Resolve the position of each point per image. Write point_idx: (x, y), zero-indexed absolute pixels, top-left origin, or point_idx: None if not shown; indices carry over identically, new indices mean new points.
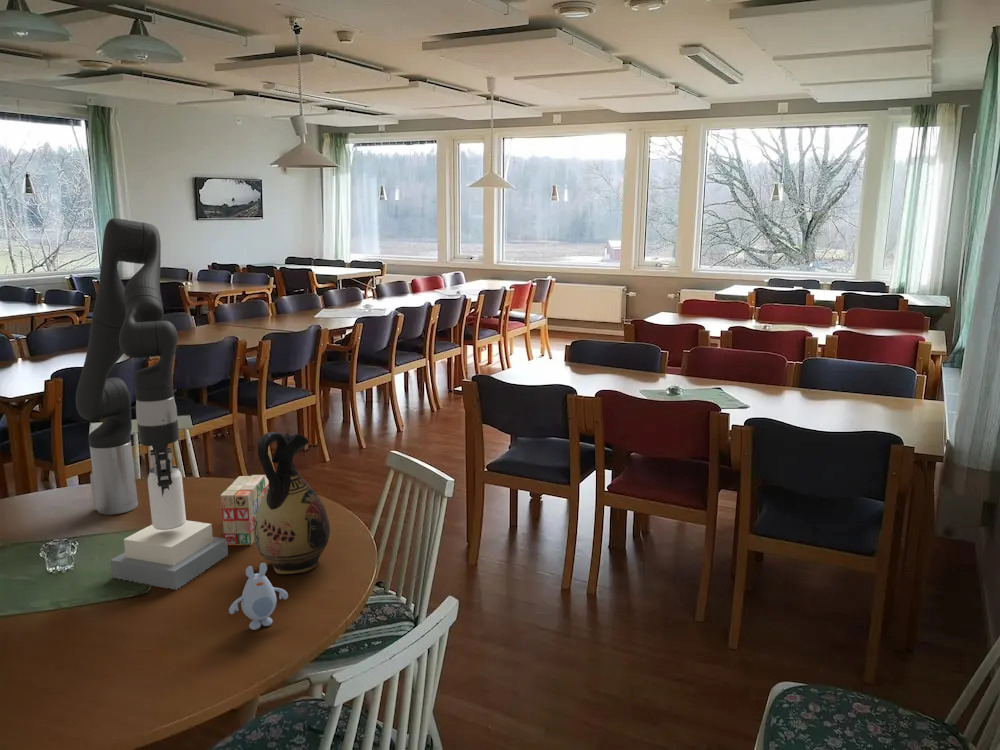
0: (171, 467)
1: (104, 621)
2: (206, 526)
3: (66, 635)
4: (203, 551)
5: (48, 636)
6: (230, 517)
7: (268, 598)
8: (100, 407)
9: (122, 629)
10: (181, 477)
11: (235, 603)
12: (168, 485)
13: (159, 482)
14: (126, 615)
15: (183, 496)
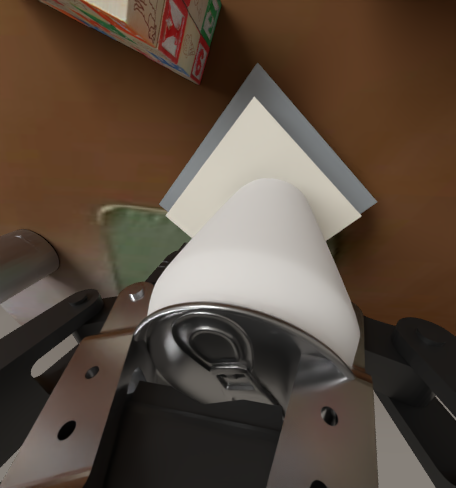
0: (373, 435)
1: (390, 285)
2: (267, 114)
3: (394, 318)
4: (307, 133)
5: None
6: (178, 27)
7: None
8: None
9: (439, 269)
10: (272, 241)
11: None
12: (364, 317)
13: (438, 411)
14: (395, 262)
15: (276, 199)
